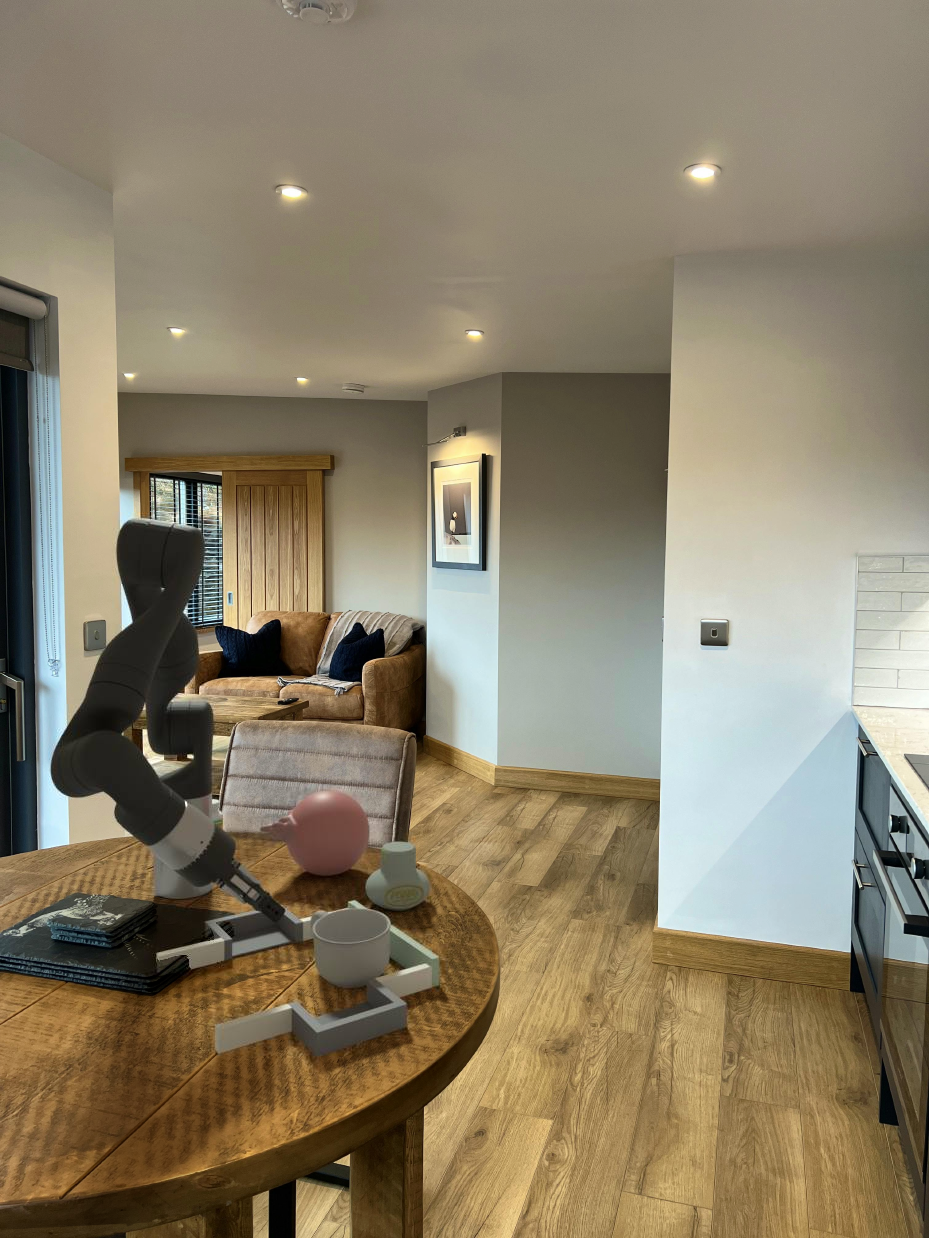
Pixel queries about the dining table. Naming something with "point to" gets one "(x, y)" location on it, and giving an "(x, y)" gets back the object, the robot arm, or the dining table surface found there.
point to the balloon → (324, 832)
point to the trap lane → (316, 1033)
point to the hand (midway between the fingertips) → (279, 914)
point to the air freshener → (398, 879)
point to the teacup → (351, 945)
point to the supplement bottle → (217, 814)
